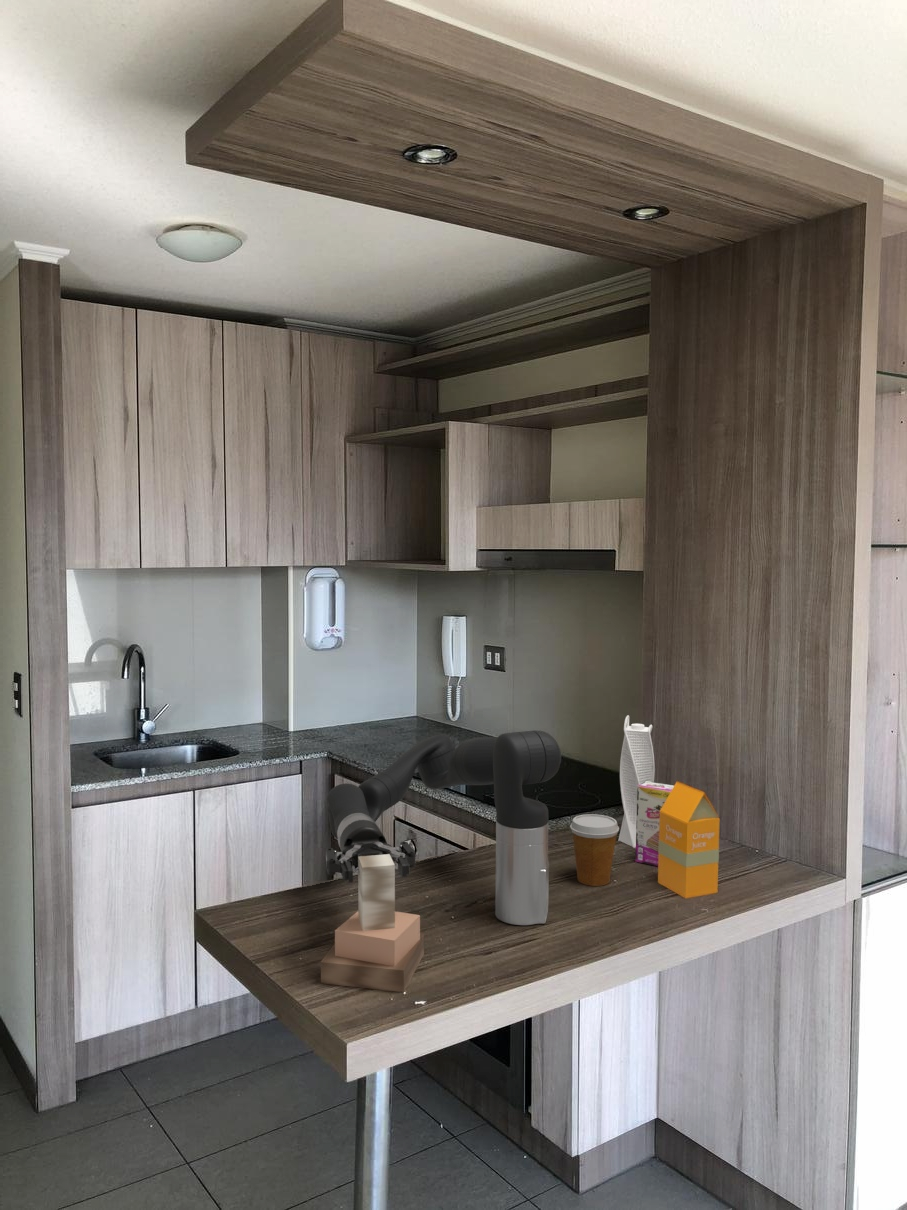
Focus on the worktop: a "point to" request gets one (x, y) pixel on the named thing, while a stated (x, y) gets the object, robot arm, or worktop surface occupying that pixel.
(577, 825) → the disposable coffee cup
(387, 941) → the tower top block
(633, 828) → the skyscraper
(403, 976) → the tower base block
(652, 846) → the candy bar box
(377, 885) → the cream block
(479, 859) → the worktop surface
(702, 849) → the orange juice
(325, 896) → the worktop surface
